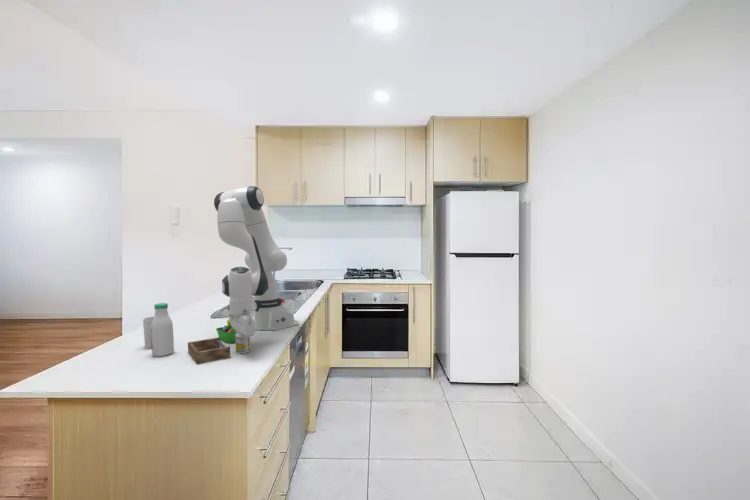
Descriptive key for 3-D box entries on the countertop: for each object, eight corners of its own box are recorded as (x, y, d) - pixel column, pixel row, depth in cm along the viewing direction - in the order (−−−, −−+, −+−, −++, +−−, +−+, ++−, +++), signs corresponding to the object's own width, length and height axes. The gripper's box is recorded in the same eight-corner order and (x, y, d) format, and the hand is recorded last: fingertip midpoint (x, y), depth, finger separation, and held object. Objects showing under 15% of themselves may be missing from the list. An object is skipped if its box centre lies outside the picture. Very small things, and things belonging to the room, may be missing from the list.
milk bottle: (178, 351, 157) (176, 302, 156) (162, 357, 150) (160, 306, 148) (163, 349, 160) (161, 301, 158) (147, 355, 152) (145, 305, 151)
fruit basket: (215, 339, 173) (214, 314, 173) (234, 335, 180) (233, 311, 179) (227, 344, 166) (226, 318, 165) (246, 340, 172) (246, 314, 171)
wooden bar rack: (219, 346, 163) (218, 336, 163) (230, 357, 149) (230, 347, 149) (187, 351, 156) (187, 342, 156) (197, 364, 142) (196, 353, 142)
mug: (157, 348, 161) (155, 319, 160) (140, 348, 161) (139, 320, 160) (169, 341, 171) (168, 314, 171) (154, 341, 171) (152, 314, 170)
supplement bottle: (245, 348, 160) (244, 325, 159) (252, 351, 156) (252, 327, 156) (233, 351, 156) (232, 327, 155) (240, 354, 152) (239, 330, 152)
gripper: (258, 311, 148) (259, 347, 149) (241, 303, 165) (242, 335, 166) (241, 314, 145) (242, 350, 146) (226, 305, 161) (227, 338, 162)
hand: (242, 342), depth 156 cm, fingers closed on supplement bottle, 5 cm apart
